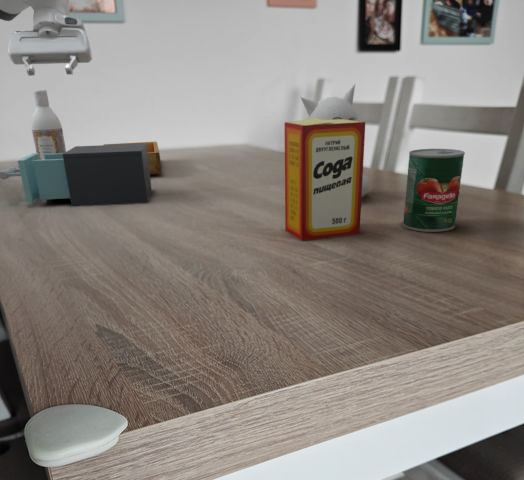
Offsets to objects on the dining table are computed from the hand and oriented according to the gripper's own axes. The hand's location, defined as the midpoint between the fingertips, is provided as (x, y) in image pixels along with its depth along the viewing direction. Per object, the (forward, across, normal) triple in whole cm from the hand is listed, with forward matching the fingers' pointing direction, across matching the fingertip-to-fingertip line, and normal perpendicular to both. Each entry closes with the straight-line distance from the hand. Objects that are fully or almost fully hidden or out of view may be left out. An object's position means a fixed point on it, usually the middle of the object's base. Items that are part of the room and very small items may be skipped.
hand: (49, 73), depth 139 cm
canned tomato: (+72, +71, -38) cm, 108 cm away
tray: (+19, +18, +15) cm, 30 cm away
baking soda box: (+72, +54, -38) cm, 98 cm away
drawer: (+46, +6, -14) cm, 48 cm away
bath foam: (+25, 0, +8) cm, 27 cm away
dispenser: (+46, +18, -13) cm, 51 cm away
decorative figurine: (+54, +61, -21) cm, 84 cm away
